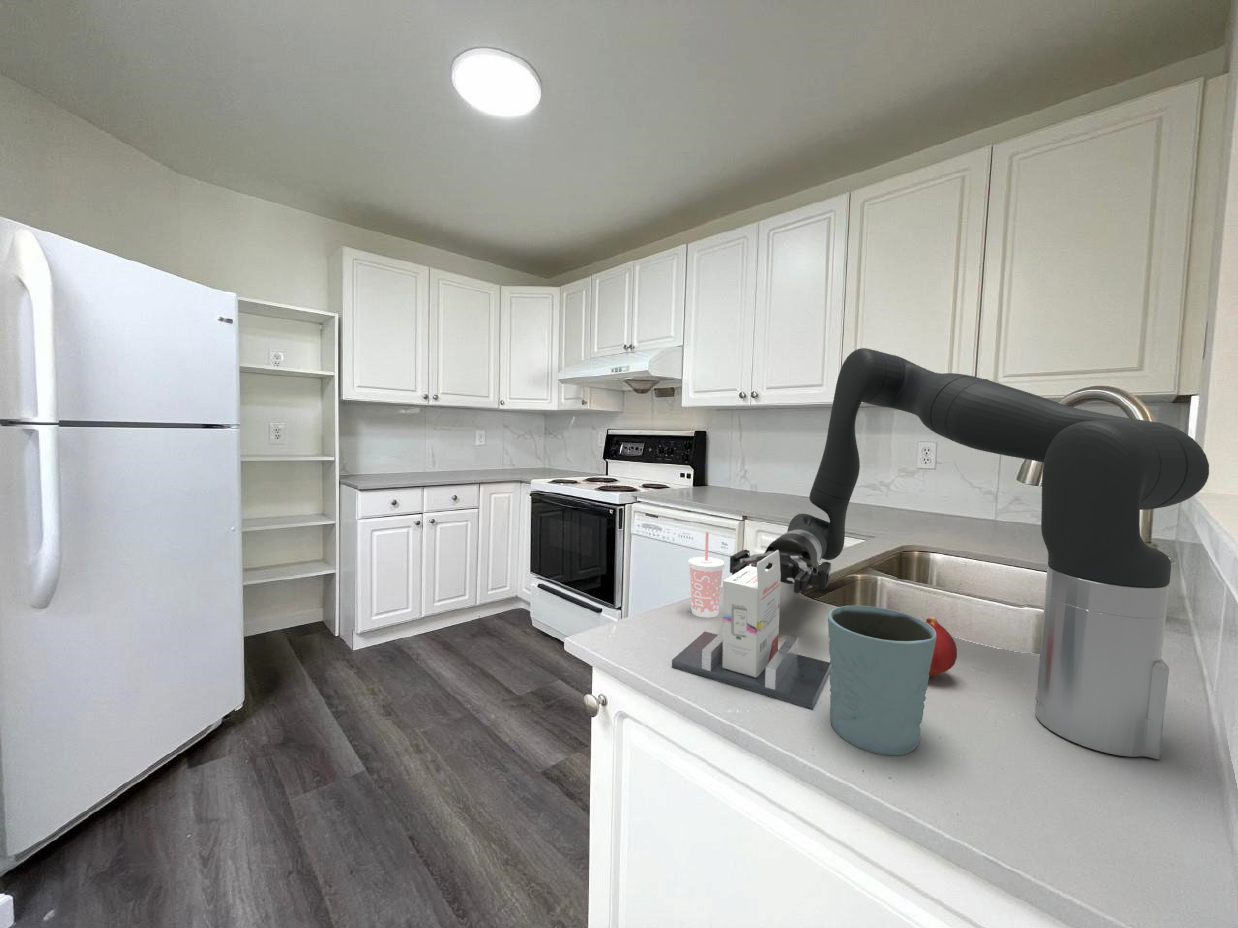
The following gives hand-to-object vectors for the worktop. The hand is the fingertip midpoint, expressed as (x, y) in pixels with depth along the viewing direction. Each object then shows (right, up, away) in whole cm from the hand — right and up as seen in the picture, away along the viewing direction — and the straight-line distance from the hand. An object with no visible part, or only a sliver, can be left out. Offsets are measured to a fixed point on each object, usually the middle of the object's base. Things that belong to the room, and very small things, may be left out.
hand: (765, 580), depth 72 cm
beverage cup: (-6, -9, +16) cm, 19 cm away
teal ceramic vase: (+7, -12, -17) cm, 22 cm away
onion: (+20, -11, -5) cm, 23 cm away
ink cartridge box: (-3, -10, -4) cm, 11 cm away
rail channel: (-3, -11, -4) cm, 12 cm away
